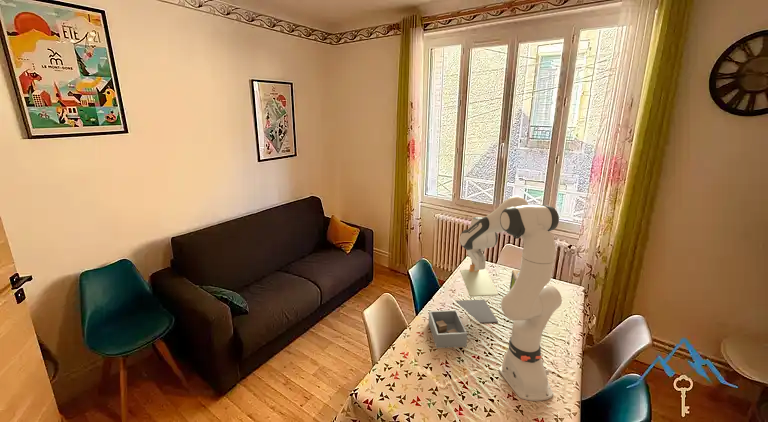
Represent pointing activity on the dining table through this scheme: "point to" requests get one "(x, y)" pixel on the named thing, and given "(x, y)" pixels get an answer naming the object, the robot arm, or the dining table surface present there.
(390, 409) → the dining table surface
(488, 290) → the lid
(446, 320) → the tub
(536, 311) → the robot arm
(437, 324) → the part block
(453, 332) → the part block
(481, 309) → the mat
